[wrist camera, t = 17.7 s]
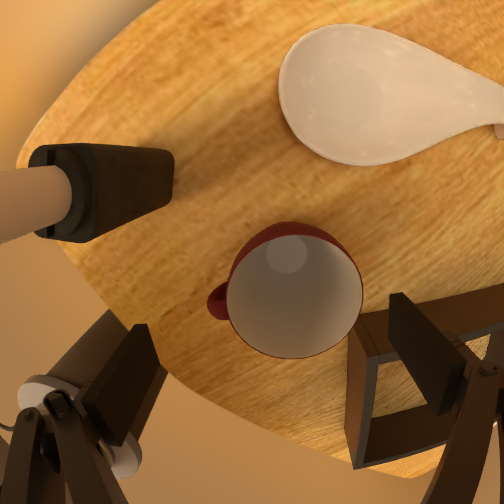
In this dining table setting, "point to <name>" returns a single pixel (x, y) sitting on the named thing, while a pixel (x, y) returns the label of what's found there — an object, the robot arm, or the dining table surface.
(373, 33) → the spoon rest
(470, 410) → the robot arm
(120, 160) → the candle
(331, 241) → the mug
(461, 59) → the dining table surface
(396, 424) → the dark rectangular frame
